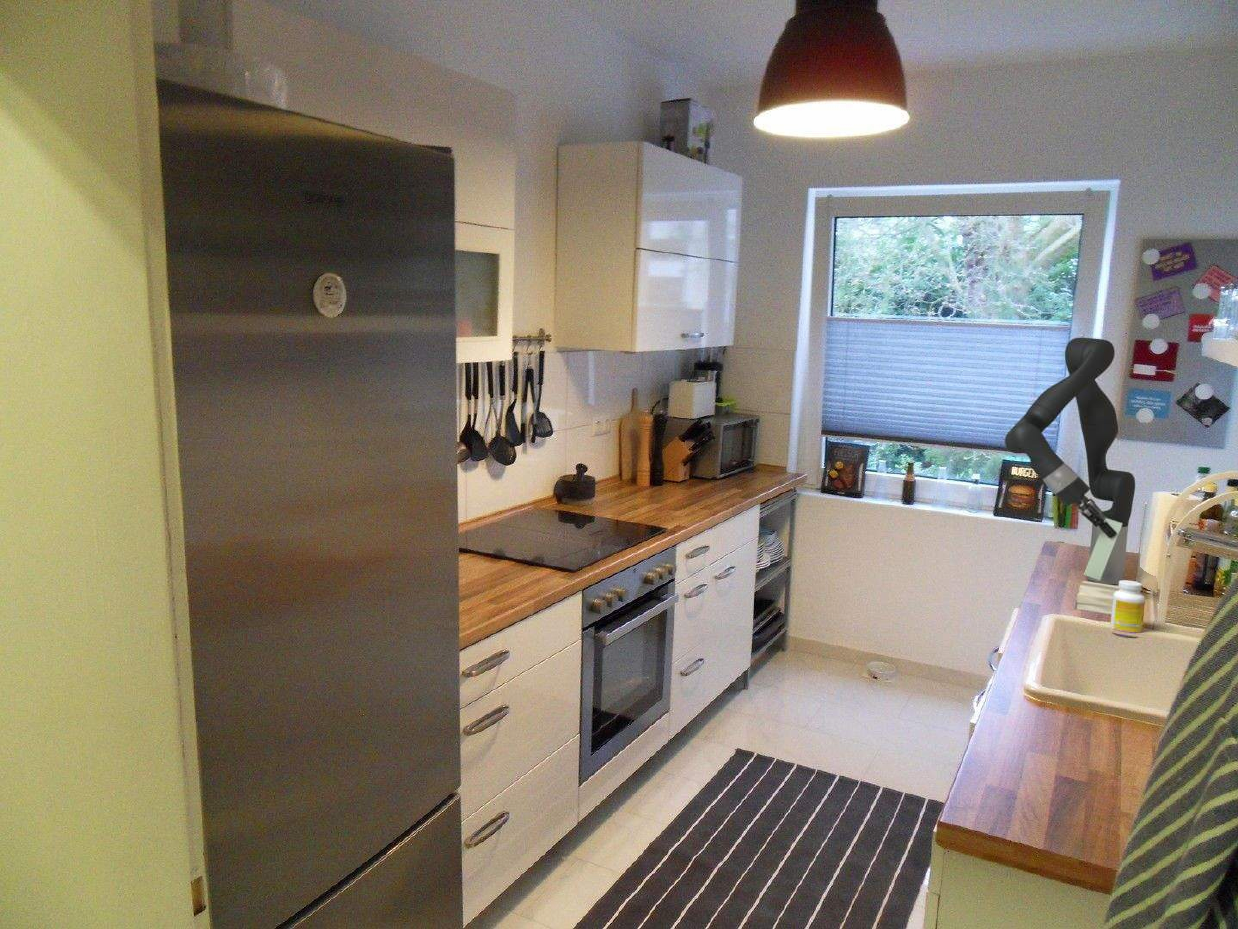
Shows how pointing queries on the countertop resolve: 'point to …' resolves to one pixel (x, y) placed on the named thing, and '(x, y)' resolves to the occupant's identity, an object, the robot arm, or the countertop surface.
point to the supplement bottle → (1128, 609)
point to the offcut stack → (1096, 597)
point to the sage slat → (1102, 551)
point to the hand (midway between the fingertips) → (1113, 535)
